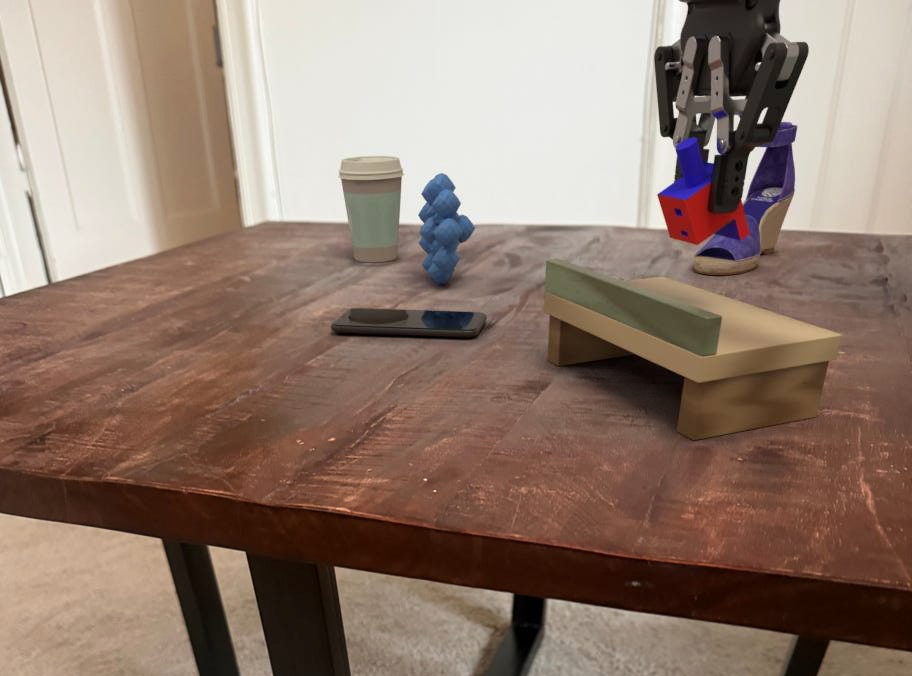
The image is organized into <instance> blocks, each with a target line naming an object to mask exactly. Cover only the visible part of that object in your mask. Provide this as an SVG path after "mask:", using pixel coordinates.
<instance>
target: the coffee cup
mask: <svg viewBox="0 0 912 676" xmlns="http://www.w3.org/2000/svg"><path fill="white" fill-rule="evenodd" d="M340 162H341V163H340V169H339V170H338V178H339V179H340V181H341V186H342V191H343V198H344V199H343V200H344V204H345V209H346V210H345V211H346V215H347V216H346V217H347V222H348V229H349V233H350V234H349V235H350V239H351V245H352V251H353V257H354V260H355V261H356V262H360V263H376V264H377V263H385V262H392V261H395V260H396V259H397V258H398V248H399V232H400V218H401V217H400V215H401V199H402V197H401V196H402V181H403V179H402V178H403V176H404V175H405V174H404V172H403V171H404V168H403V167H402V165H401V160H400V158H399V157H397V156H392V155H391V156H389V155H365V156H354V157H347V158H343V159H341V161H340Z"/></svg>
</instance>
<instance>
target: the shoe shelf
mask: <svg viewBox="0 0 912 676" xmlns="http://www.w3.org/2000/svg"><path fill="white" fill-rule="evenodd" d="M544 273H545V275H544V294H543V295H544V297H543V298H544V299H543V313H545V314H547V315H549V317H548V318H549V320H548V321H549V322H548V341H547V361H548V362H550V363H552V364H553V365H554V366H557V367H561V366H568V365H574V364H581V363H589V362H595V361H602V360H606V359H607V360H608V359H615V358H620V357H627V356H634V355H637V356H639V357H641V358H643V359H645V360H647V361H649V362H651V363H654V364H656V365H658V366H660V367H662V368H664V369H667V370H669V371H671V372H673V373H675V374H677V375H680V376H682V377H683V378H684V379H683V385H682V392H681V400H680V405H679V412H678V413H679V415H678V421H677V429H676V432H677V433H678V434H681V435H683V436H685V437H686V438H688V439H690V440H692V441H699V440H704V439H708V438H715V437H718V436H724V435H731V434H734V433H739V432H744V431H745V432H746V431H750V430H755V429H760V428H765V427H771V426H775V425H781V424H785V423H792V422H796V421H800V420H807V419H812V418H816V417H818V416H817V415H818V411H819V406H820V402H821V399H822V394H823V390H824V385H825V381H826V376H827V372H828V369H829V368H828V367H829V364H830V362H831V361H836V360H837V359H838V355H839V351H840V348H841V343H842V339H843V334H842V333H838V332H836V331H833V330H829V329H826V328H824V327H820V326H817V325H814V324H810V323H807V322H804V321H801V320H799V319H795V318H792V317H789V316H786V315H783V314H779V313H777V312H773V311H771V310H767V309H763V308H761V307H758V306H755V305H752V304H749V303H747V302H746V303H745V302H743V301H740V300H737V299H733V298H730V297H727V296H724V295H721V294H718V293H715V292H711V291H708V290H706V289H703V288H700V287H696V286H693V285H690V284H687V283H683V282H681V281H678V280H674V279H672V278H669V277H666V276H662V275H661V276H653V277H646V278H638V279H628V280H621V279H617V278H615V277H613V276H609V275H607V274H603V273H601V272H598V271H595V270H592V269H590V268H586V267H584V266H581V265H579V264H575V263H572V262H569V261H567V260H563V259H562V258H549V259H548V258H547V259H545V272H544Z"/></svg>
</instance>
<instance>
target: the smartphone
mask: <svg viewBox="0 0 912 676" xmlns="http://www.w3.org/2000/svg"><path fill="white" fill-rule="evenodd" d="M487 319H488V318H487V314H486V313H485V312H482V311H462V310H461V311H459V310H428V309H399V308H398V309H397V308H370V307H368V308H365V307H351V308H348V309H347V310H345V311H344V312H343V313H342V314H341V315H340V316H338V317H337V318H336V319H335V320H334V321H333V322H332V323H331V324H330V329H331V331H332V332H335V333H343V334H344V333H345V334H367V335H369V334H371V335H395V336H396V335H398V336H418V337H419V336H421V337H422V336H423V337H444V338H445V337H446V338H449V337H450V338H473V337H476V336H477V335H478V334H479V333H480V332H481V330H482V328H483V326H484V324H485V323H486V321H487Z"/></svg>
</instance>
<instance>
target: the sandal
mask: <svg viewBox="0 0 912 676" xmlns="http://www.w3.org/2000/svg"><path fill="white" fill-rule="evenodd" d="M797 131H798V125H797V124H793V123H792V122H790V121H781V124H780V126H779V129H778V131H777V134H776V136H775V138H774V140H773V141H772V142H771V143H764V144H762V145H760V146H757V147H756V148H765V150H764V153H763V155H762V157H761V159H760V161H759V163H758V165H757V167H756V170H755V172H754V174H753V177H752V179H751V181H750V184H749V187H748V191H747V194H746V196H745V200H744V201H742V204H743V208H744V213H745V217H746V221H747V225H748V229H749V233H750V235H748V236H747V237H745V238H744V239H742V240H741V241H740V240H736V239H732V238H728V237H724V236H720V235H716V234H713V235H712V236H711V237H710V239H709V240H708V241H707V242H706V243H705V245H703V246H702V247H701V248H700V249H699V250H698V251H697V252H696V253H695V254H694V256H693V271H695V272H696V273H698V274H703V275H711V276H732V275H738V274H742V273H743V274H744V273H747V272H751V271H753V270H755V269H756V268H757V267H758V263H759V262H760V259H761V255H769V254H771V253H774V252H775V248H776V245H777V244H778V240H779V236H780V233H781V229H782V227H783V224H784V222H785V219H786V216H787V213H788V211H789V209H790V207H791V203H792V200H793V198H794V196H795V192H796V190H795V189H796V188H795V187H796V186H795V185H796V184H795V183H796V168H795V161H794V153H793V152H794V151H793V143H795V141H796V137H797Z"/></svg>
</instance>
